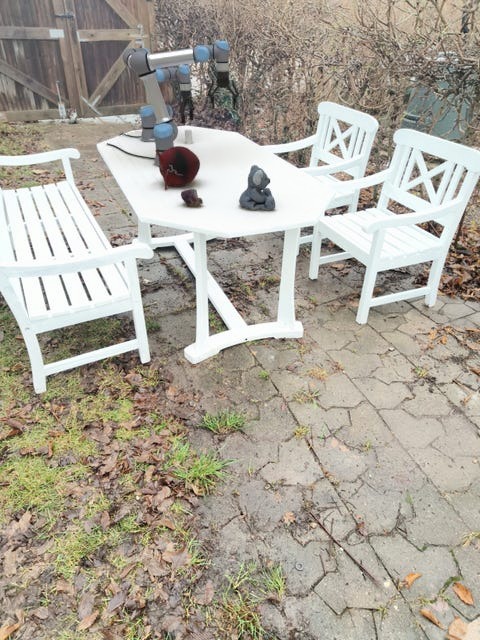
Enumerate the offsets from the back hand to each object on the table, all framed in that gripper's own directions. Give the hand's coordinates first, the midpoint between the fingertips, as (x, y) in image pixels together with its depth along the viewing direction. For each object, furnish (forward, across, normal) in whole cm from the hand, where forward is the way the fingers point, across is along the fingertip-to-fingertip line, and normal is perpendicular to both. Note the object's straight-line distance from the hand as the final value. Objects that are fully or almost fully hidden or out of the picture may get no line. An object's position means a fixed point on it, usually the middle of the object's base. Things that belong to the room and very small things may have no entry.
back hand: (187, 121), depth 335 cm
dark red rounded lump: (+14, -92, -41) cm, 102 cm away
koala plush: (+13, -112, -95) cm, 147 cm away
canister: (+14, -2, -1) cm, 15 cm away
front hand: (-17, -34, -44) cm, 59 cm away
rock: (+14, -122, -63) cm, 138 cm away
